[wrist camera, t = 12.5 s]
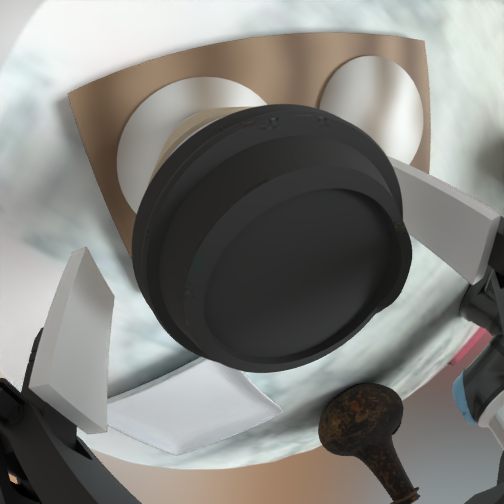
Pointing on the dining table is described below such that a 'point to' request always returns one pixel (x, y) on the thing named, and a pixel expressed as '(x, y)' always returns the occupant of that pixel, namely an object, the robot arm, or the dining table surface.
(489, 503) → the robot arm
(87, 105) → the tag board
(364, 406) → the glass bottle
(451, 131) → the dining table surface
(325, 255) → the coffee cup
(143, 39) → the dining table surface
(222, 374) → the salad plate
